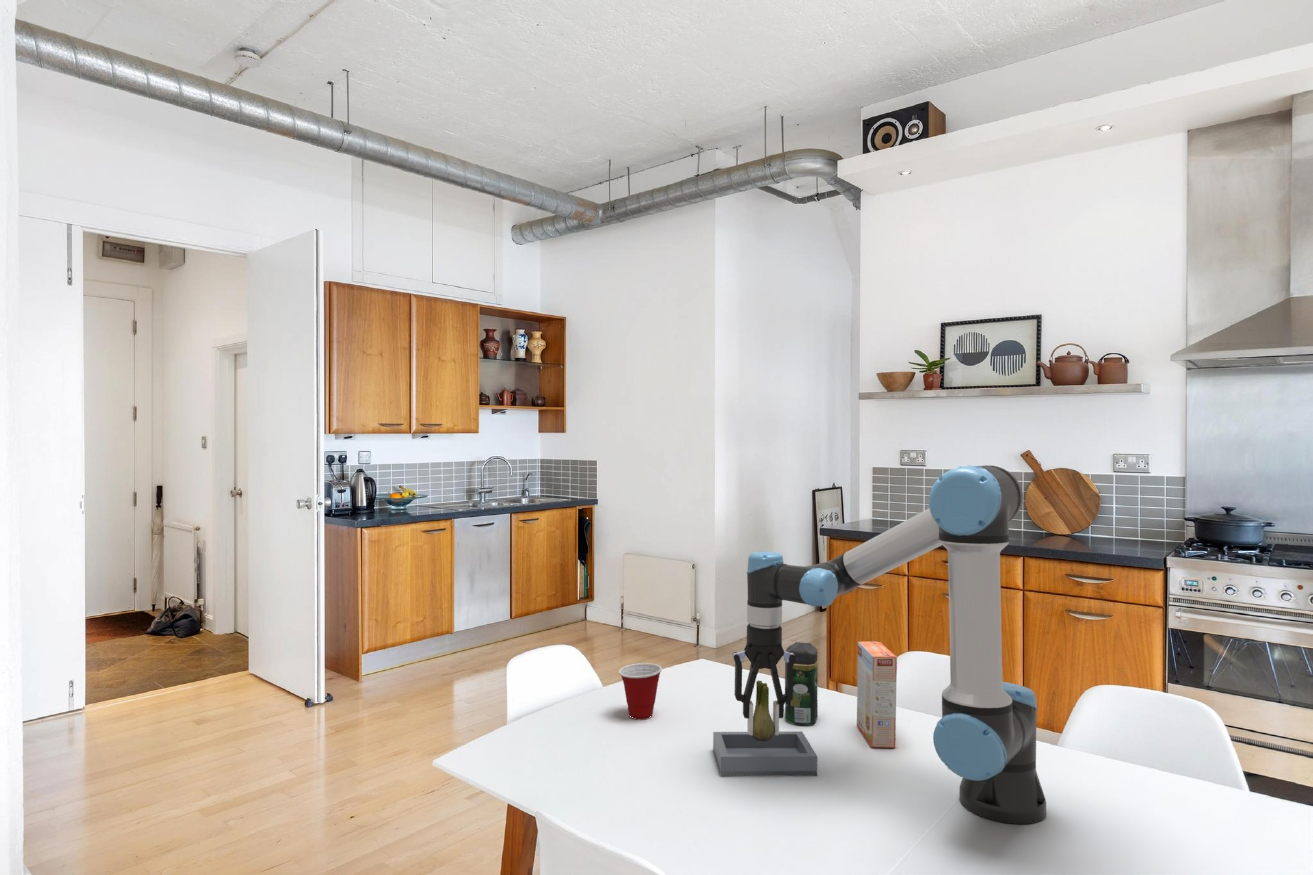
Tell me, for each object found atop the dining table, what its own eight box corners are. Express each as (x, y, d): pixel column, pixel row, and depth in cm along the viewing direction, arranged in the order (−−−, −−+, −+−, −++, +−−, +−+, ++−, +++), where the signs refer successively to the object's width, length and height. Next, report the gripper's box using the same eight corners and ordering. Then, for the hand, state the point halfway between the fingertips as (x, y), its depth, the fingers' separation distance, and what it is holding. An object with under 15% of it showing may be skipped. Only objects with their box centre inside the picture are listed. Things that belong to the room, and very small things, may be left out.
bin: (817, 775, 162) (817, 756, 162) (720, 776, 162) (720, 756, 162) (802, 749, 176) (802, 731, 176) (713, 749, 176) (713, 731, 176)
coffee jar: (787, 711, 201) (788, 638, 202) (819, 715, 199) (819, 641, 199) (782, 724, 192) (782, 648, 192) (815, 728, 190) (815, 651, 190)
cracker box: (897, 749, 177) (898, 656, 177) (870, 748, 177) (871, 655, 177) (881, 726, 191) (881, 640, 191) (856, 726, 191) (856, 640, 191)
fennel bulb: (753, 732, 173) (754, 677, 173) (776, 735, 171) (776, 680, 171) (749, 742, 167) (750, 685, 167) (772, 745, 166) (773, 687, 166)
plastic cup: (613, 710, 201) (613, 663, 201) (653, 707, 204) (654, 660, 204) (624, 725, 190) (625, 675, 190) (667, 721, 194) (667, 672, 194)
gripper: (801, 620, 173) (800, 726, 173) (720, 620, 173) (719, 726, 173) (809, 628, 166) (808, 739, 166) (725, 628, 165) (723, 739, 165)
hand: (763, 732), depth 169 cm, fingers closed on fennel bulb, 5 cm apart
